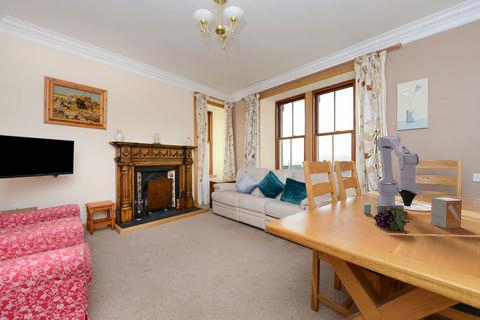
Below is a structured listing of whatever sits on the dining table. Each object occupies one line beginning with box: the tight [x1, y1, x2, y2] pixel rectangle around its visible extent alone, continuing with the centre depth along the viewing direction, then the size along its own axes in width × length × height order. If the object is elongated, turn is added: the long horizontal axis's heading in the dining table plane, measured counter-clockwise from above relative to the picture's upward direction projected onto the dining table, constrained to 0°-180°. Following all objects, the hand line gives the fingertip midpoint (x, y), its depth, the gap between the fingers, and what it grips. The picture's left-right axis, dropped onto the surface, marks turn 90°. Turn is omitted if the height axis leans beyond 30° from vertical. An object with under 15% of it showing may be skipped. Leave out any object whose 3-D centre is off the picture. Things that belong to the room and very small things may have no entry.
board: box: [376, 204, 405, 214], centre depth 102 cm, size 18×13×5 cm
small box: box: [430, 196, 463, 229], centre depth 91 cm, size 8×6×13 cm
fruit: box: [372, 208, 411, 231], centre depth 89 cm, size 10×10×15 cm
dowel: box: [363, 202, 372, 215], centre depth 110 cm, size 3×3×6 cm
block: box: [385, 208, 409, 219], centre depth 106 cm, size 7×7×3 cm
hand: (407, 206), depth 98 cm, fingers closed
